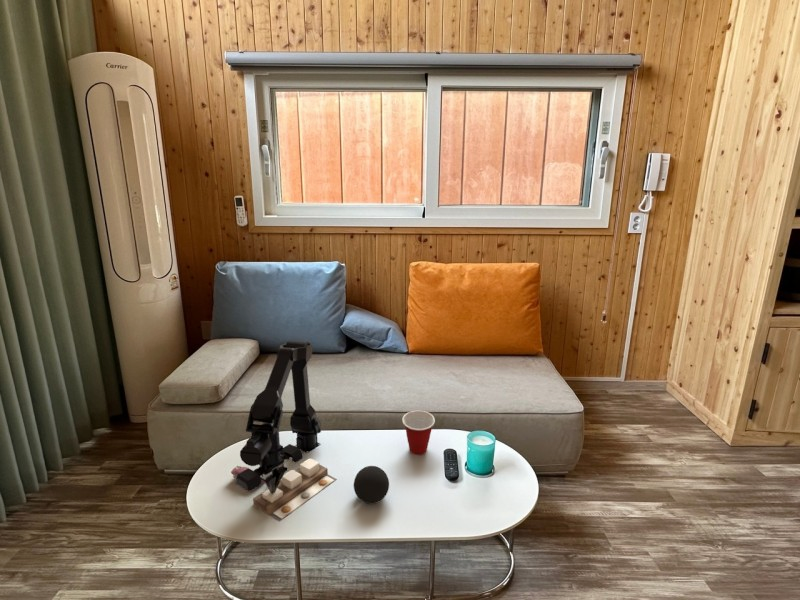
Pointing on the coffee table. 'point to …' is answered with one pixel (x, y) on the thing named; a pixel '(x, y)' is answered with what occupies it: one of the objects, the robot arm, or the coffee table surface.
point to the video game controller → (239, 470)
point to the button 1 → (272, 495)
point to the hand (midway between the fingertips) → (272, 492)
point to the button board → (295, 494)
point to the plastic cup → (418, 430)
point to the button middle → (291, 479)
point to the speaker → (371, 484)
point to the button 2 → (309, 467)
